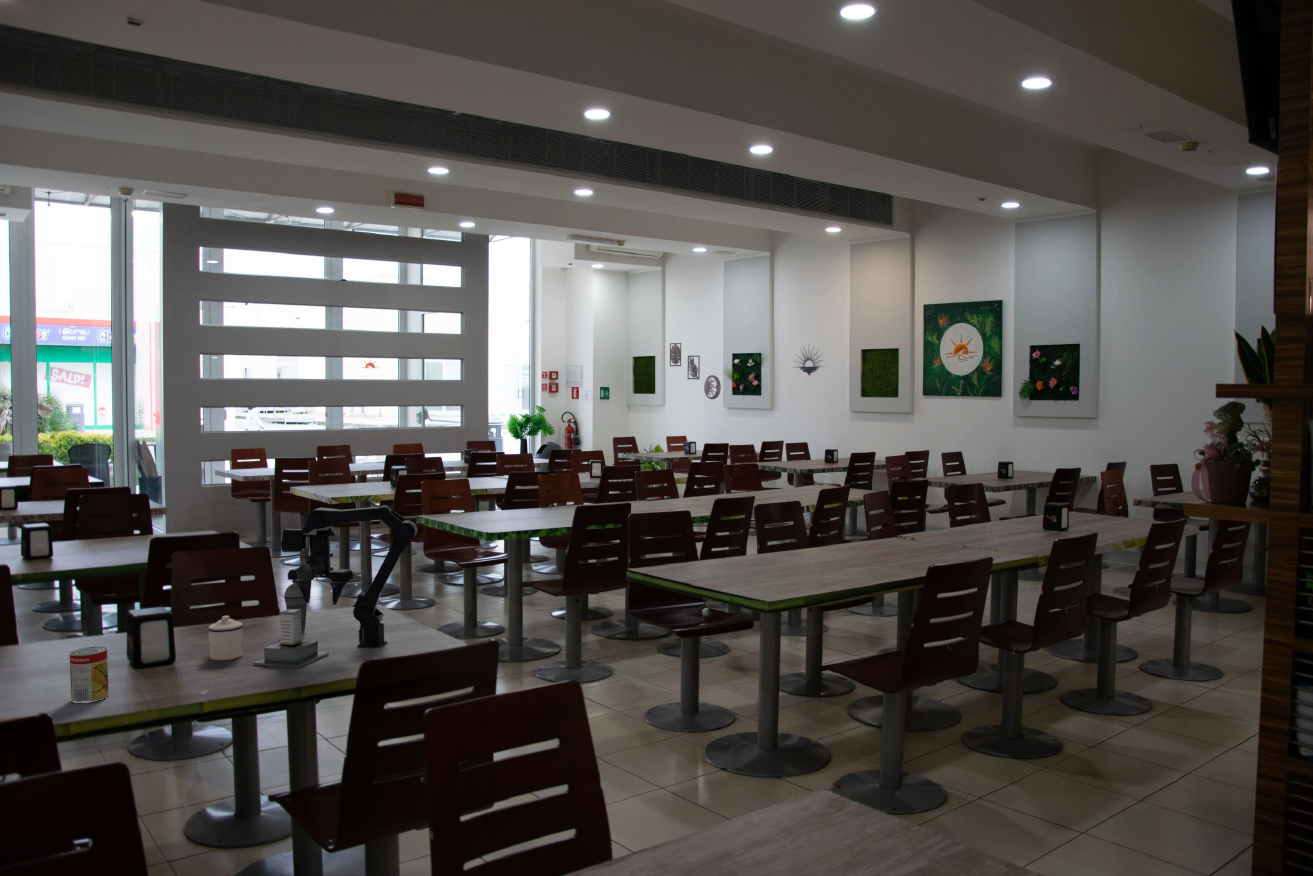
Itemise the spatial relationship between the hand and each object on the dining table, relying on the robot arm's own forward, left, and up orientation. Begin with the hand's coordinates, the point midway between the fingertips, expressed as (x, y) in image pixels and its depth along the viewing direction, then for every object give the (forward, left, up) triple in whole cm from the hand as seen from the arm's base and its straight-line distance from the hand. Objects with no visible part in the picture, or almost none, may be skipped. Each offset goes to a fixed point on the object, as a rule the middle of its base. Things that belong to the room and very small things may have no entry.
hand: (321, 603), depth 276 cm
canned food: (+26, +56, -13) cm, 63 cm away
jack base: (0, +14, -13) cm, 19 cm away
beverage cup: (+19, -14, -13) cm, 27 cm away
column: (0, +14, -9) cm, 17 cm away
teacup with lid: (+22, +15, -13) cm, 30 cm away
